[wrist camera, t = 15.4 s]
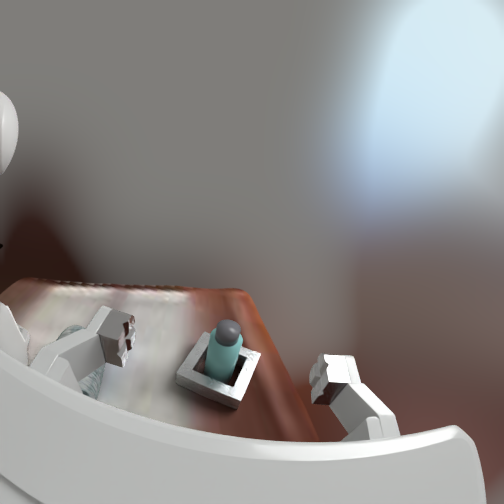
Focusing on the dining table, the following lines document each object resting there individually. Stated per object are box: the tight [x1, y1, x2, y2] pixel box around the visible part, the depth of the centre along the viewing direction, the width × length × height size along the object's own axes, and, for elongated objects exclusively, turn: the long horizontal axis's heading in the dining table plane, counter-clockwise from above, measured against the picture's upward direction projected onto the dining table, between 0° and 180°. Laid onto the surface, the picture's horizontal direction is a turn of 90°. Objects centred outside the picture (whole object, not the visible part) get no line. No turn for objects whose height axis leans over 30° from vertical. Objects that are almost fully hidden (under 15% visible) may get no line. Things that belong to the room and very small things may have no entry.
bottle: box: [204, 320, 243, 384], centre depth 38 cm, size 4×4×11 cm
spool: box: [56, 325, 105, 400], centre depth 29 cm, size 14×10×10 cm
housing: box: [176, 332, 260, 410], centre depth 40 cm, size 10×10×3 cm
